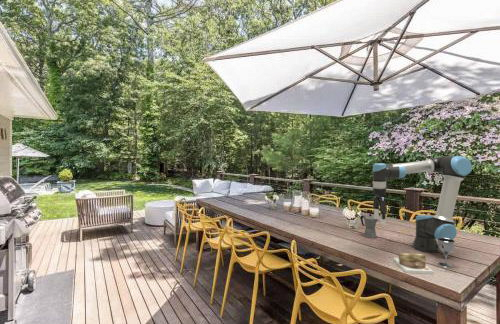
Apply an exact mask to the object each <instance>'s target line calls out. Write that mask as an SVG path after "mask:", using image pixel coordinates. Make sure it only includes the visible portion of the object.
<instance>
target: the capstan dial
mask: <svg viewBox="0 0 500 324" xmlns="http://www.w3.org/2000/svg"><path fill="white" fill-rule="evenodd" d="M398 258H399V262H400V263H401V264H402V265H404V266H407V267H411V268H424V267H425V265H426V263H427V255H426V254H425V253H416V252H413V251H411V252H410V251H409V252H408V253H404V252H403V253H401V252H400V253H398Z"/></svg>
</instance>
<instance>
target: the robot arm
mask: <svg viewBox="0 0 500 324" xmlns="http://www.w3.org/2000/svg"><path fill="white" fill-rule="evenodd" d="M472 168H473V166H472V162H471V161H470V159H468V158H467V157H464V156H461V155H443V156H438V157H432V158H426V159H425V160H422V161H421V160H419V161H410V162H402V163H393V164H386V163H379V162H378V163H373V165H372V183H371V184H372V194H373V195H374V196H373V197H374V198H373V203H372V207H373V217H374V219H378V220H379V219H380V225H387V224H386V223H387V222H386V221H387V219H386V215H387V214H388V210H387V204H386V203H387V202H386V197H384V196H385V195H387V179H403V178H405V177H406V175H411V174H417V173H418V174H419V173H426V172H427V173H429V174H430V173H431V174H432V173H438V174H441V176H442V177H443V181H442V186H441V191H440V196H439V199H438V203H437V208H436V213H435V214H434V215H432V214H431V215H430V214H428V215H427V214H418V215H417V216H415V237H414V240H413V243H412V248H413V249H415V250H418V251H420V252H425V253H438V252H439V251H440V248H439V246H438V238H448V239H452V240H454V239H455V238H456V237H457V234H458V230H457V228H456V226H455V220H454V219H453V215H454V212H455V207H456V204H457V198H458V195H459V191H460V190H459V189H460V186H461V182H462V181H464V180H465V178H466V176H467V175H469V174H470V173H471V171H473V170H472ZM379 212H380V213H379ZM379 215H380V216H379Z"/></svg>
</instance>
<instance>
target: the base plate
mask: <svg viewBox="0 0 500 324" xmlns="http://www.w3.org/2000/svg"><path fill="white" fill-rule="evenodd" d="M393 262H395V264H396V265H398V266H399V268H400V269H402V270H403V271H404V272H405V273H406V274H423V275H434V270H432V268H430V267H428V266H427V264H425V267H424V268H411V267H407V266H404V265H402V264H401V263H400V262H399V257H393Z"/></svg>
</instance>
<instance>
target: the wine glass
mask: <svg viewBox="0 0 500 324" xmlns="http://www.w3.org/2000/svg"><path fill="white" fill-rule="evenodd" d="M455 242H456V241H455V240H454V239H453V240H452V239H448V238H438V240H437V244H438V246H439V251H441V252H442V254H443V256H444V262H439V263H438V265H439V266H441V267H442V268H449V269H451V268H454V265H453V264H451V263H448V261H447V260H448V256H449V255H450V254H451V253H452V252H453V251H454V249H455V246H456V243H455Z"/></svg>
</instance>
